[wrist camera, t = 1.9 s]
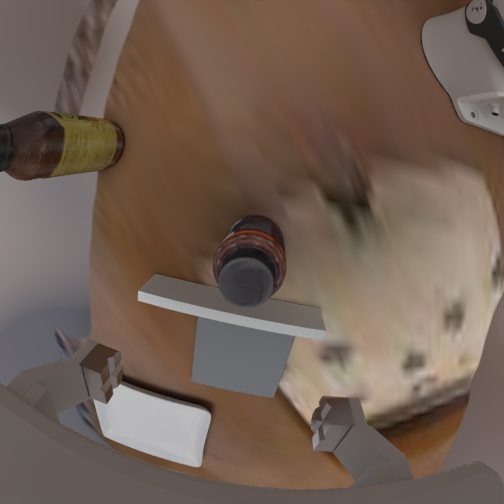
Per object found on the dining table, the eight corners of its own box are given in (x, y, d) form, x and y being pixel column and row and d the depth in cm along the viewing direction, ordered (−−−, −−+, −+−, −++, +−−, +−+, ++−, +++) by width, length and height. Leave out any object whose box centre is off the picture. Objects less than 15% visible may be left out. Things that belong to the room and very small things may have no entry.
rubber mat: (295, 330, 33) (296, 333, 33) (273, 395, 37) (273, 397, 36) (199, 310, 33) (198, 313, 33) (192, 378, 37) (191, 381, 36)
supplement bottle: (220, 222, 30) (191, 255, 19) (274, 206, 29) (274, 231, 18) (238, 273, 32) (220, 327, 21) (289, 259, 31) (297, 309, 20)
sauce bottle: (123, 114, 27) (-15, 87, 8) (128, 164, 29) (-16, 180, 10) (81, 129, 28) (-50, 126, 9) (86, 176, 29) (-47, 204, 10)
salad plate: (215, 398, 38) (212, 414, 35) (203, 457, 45) (200, 470, 42) (94, 358, 39) (85, 369, 35) (109, 425, 45) (103, 436, 42)
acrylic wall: (319, 308, 32) (326, 331, 27) (316, 316, 32) (322, 340, 28) (155, 273, 32) (138, 290, 28) (155, 282, 33) (138, 300, 28)
